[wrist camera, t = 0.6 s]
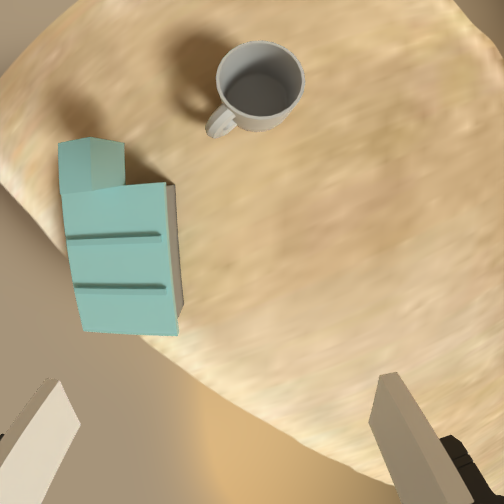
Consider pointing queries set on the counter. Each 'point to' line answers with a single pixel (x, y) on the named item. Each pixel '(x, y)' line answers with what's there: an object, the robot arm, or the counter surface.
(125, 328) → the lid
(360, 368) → the counter surface
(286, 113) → the cup
